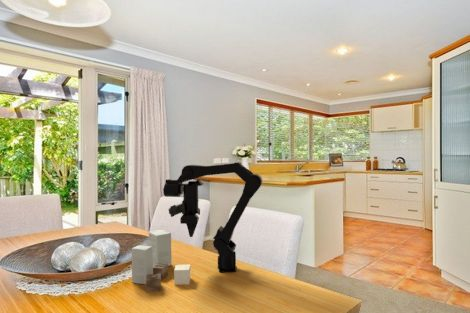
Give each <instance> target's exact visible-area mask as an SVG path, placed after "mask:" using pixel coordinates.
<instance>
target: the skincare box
mask: <svg viewBox="0 0 470 313" xmlns="http://www.w3.org/2000/svg"><path fill="white" fill-rule="evenodd" d="M150 274H153V247H152V246H149V245H142V244H139V245H136V246H134V247H132V248H131V283H133V284H139V285H140V284H141V285H146V277H147V275H150Z"/></svg>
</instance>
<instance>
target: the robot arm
mask: <svg viewBox="0 0 470 313" xmlns="http://www.w3.org/2000/svg"><path fill="white" fill-rule="evenodd" d="M224 174H235V175H237V176H238V177H239V178H240V179H241V180H242V181H243V182H244V186H243V190H242V193H241V195H240V198H239V199H238V201H237V203H236V205H235V207H234V208H233V210H232V213H231V214H230V216H229V218H228V219H227V222H226V224H225V225H224V227H223V226H222V225H220V226H219V227H218V229H217V230H216V234H214V236H213V238H212V239H213V242H212V245H213V248H214V249H215V250H217V251H216V252H217V253H218V256H217V269H218V272H219V273H229V272H231V273H232V272H234V273H235V272H237V265H236V264H237V262H236V261H237V258H236V256H237V253H236V247H237V244H236V243H235V242H234V241H233V240H232V238H233V235H234V231H235V228H236V226H237V224H238V223H239V221H240V219H241V217H242V216H243V213H244V211H245V210H246V208H247V206H248V205H249V202H250V201H251V199H252V198H253V197H254V195H255V194H256V193H257V192H258V190H259V189H260V188H261V186H262V185H263V178H262V176H261V175H260V174H258V173H254V172H252V171H251V170H250V169H248V168H247V167H245V165H243V164H242V163H241V162H239V161H238V162H237V161H236V162H232V163H223V164H214V165H201V164H200V165H199V164H189V165H188V164H187V165H185V166H183V167H182V169H181V174H179V176H178V178H177V179H171V178H170V179H169V178H168V179H165V183H164V186H163V188H162V193H163V196H164V198H165V197H166V198H172V197H173V198H176V197H177V198H179V197H181V195H183V197H182V198H183V199H182V200H181V203H178V204H173V205H170V207H169V208H168V214H169V215H170V217H171V218H172V217H175V216H176V215H178V214H181V216H180V218H179V219H180V224H184V225H185V226H186V227H187V232H188V235H189V237H190V238H193V237H194V234H195V231H196V228H197V225H198V222H199V220H200V217H199V215H201V209H200V208H199V201H200V200H199V187H201V186H203V185H204V182H203V181H201V180H200V179H199V178H202V177H205V176H213V175H215V176H216V175H224ZM194 179H196V180H194ZM186 182H187V183H186Z"/></svg>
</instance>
